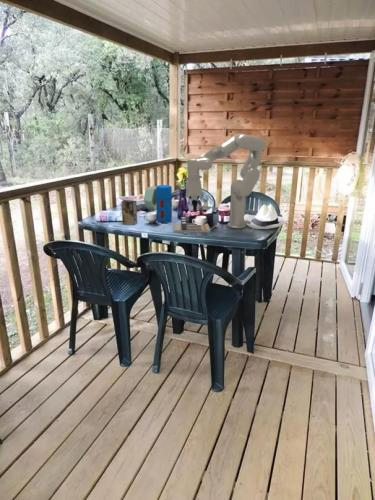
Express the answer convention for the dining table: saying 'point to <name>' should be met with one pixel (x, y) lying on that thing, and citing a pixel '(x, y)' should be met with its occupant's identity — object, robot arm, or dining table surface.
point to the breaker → (184, 225)
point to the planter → (150, 198)
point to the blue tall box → (164, 203)
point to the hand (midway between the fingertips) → (194, 206)
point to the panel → (190, 228)
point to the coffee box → (129, 212)
